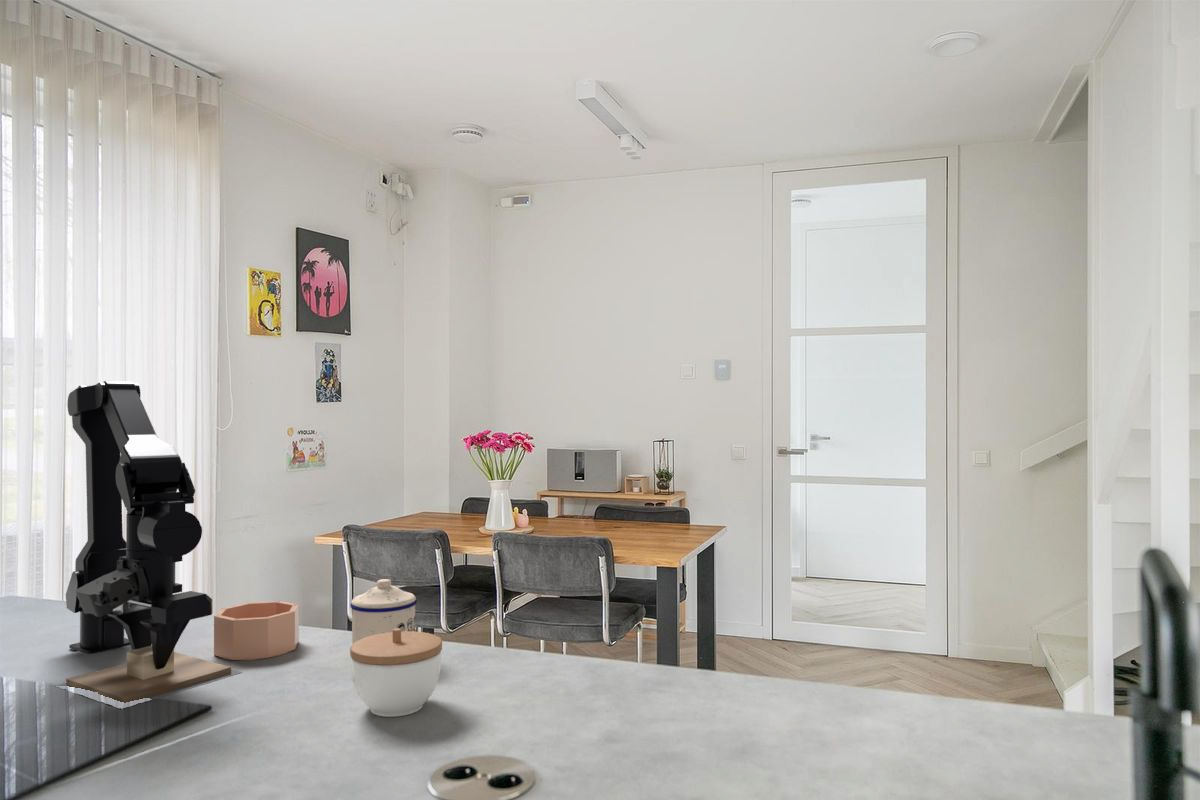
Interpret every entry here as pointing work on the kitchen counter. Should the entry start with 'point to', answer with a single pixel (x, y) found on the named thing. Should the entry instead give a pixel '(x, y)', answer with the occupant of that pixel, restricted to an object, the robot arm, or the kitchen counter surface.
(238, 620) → the bowl
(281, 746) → the kitchen counter surface
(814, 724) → the kitchen counter surface
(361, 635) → the teacup with lid
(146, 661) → the cover
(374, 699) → the lidded jar
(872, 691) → the kitchen counter surface
